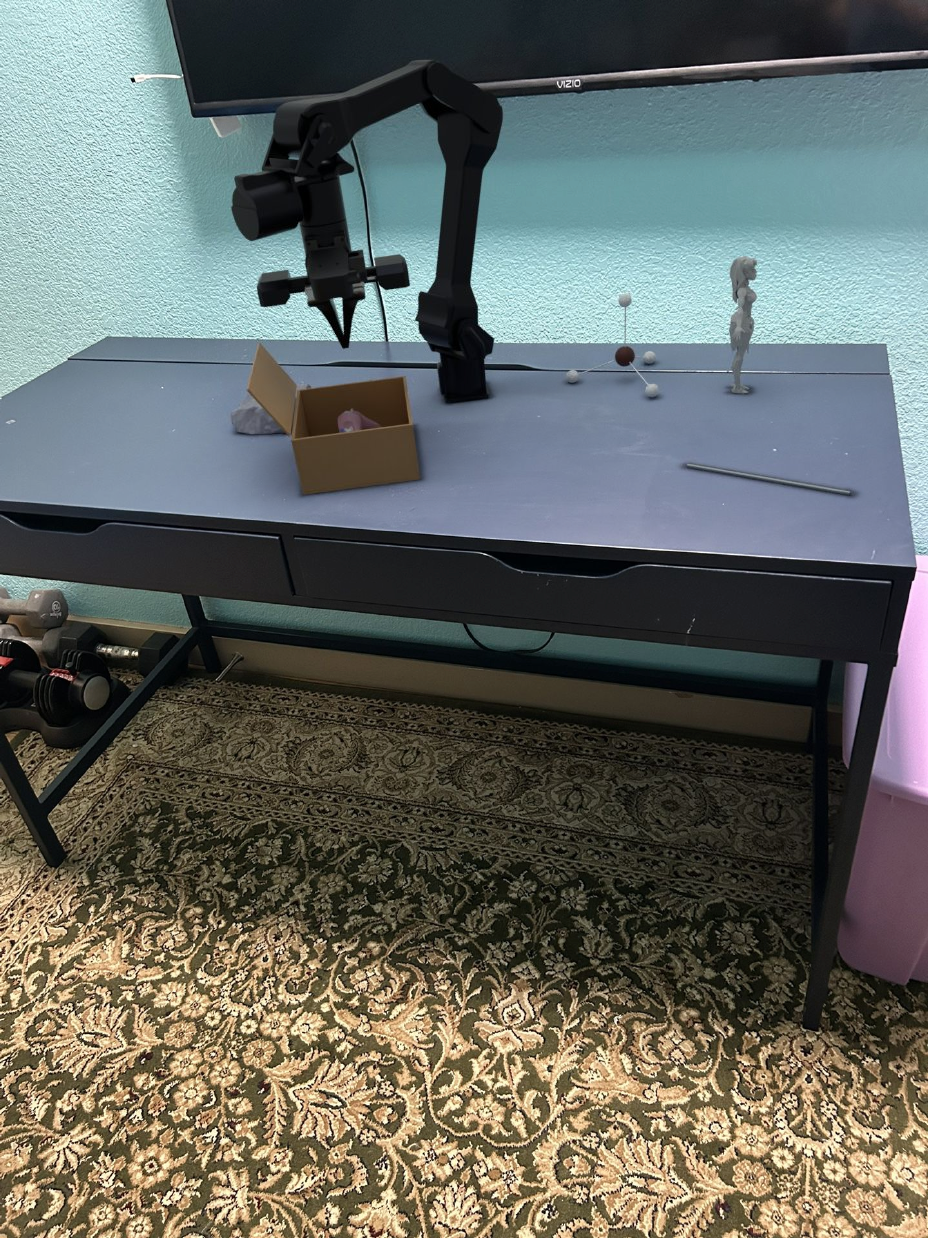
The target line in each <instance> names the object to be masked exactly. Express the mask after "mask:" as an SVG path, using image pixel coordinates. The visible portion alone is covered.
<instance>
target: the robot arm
mask: <svg viewBox="0 0 928 1238" xmlns="http://www.w3.org/2000/svg"><path fill="white" fill-rule="evenodd" d="M417 105H419V106H420V108H421V110H422V111H423V112H424V114H425V115H426V116H427V117H428V118H429V119H431V120H432V121H434V122H435V123H436V125H437V126H436V129H437V143H438V146H439V149H440V152H441V155H442V158H443V160H444V164H445V175H444V185H443V193H442V194H443V195H442V206H441V215H440V227H439V228H440V229H439V238H438V246H437V247H438V248H437V256H436V267H435V268H436V269H435V277H434V281H433V282H432V284H431V285H430V287H429V289H428V290H427V292H426V291H422V290H421V291H419V292H418V296H417V313H416V316H415V318H414V321H415V322H417V323H418V326H417V327H418V328H417V329H418V333H419V335H421V338H422V339H423V340H424V341H425V342H426V343H427V345H428V347H429V349H430V351H431V352H433V353H438V354H439V361H438V362H437V363H436V369H437V378H438V379H437V380H438V386H439V392H440V395H441V396H443V398H444V401H445V403H454V402H463V401H469V400H470V401H471V400H478V399H485V398H489V397H490V393H489V390H488V386H487V375H486V365H485V364H486V363H485V360H486V357H487V356H488V355H492V353H493V351H494V344H495V338H494V337H493V336H492V335H490V333H488V332H487V331H486V330H485V328H483V327H482V326H480V325H479V305H478V302H477V300H476V297H475V294H474V291H473V288H472V283H471V282H472V274H473V273H472V272H473V264H474V253H475V246H476V245H475V244H476V236H477V228H478V218H479V210H480V209H479V208H480V201H481V191H482V183H483V174H484V170H485V168H486V166H487V165H488V163H489V161H490V160H491V158H492V156H493V155H494V153H495V151H496V150H497V147H498V143H499V139H500V135H501V130H502V127H503V121H504V111H503V106H502V105H501V104H500V102H499V100H498V98H497V97H496V95H495V94H494V93H492V92H491V91H489V90H483V89H482V88H480V87H479V86H478V85H476V84H474V83H472V82H471V81H469V80H467V79H465V78H464V77H462V76H460V75H458V74H457V73H455V72H453V71H452V70H450V69H449V67H447V66H446V65H445V64H444V63H441V62H440V61H439V60H436V59H417V60H412V61H409V63H408V64H406V65H405V66H403V67H401V68H398V69H395V70H393V71H392V72H389V73H387V74H384V75H382V76H379V77H377V78H374V79H373V80H370V81H367V82H365V83H363V84H360V85H358V86H356V87H354V88H351V89H349V90H346V91H344V92H341V93H339V94H336V95H331V96H330V95H329V96H323V97H322V96H321V97H314V98H306V99H299V100H293V101H287V102H284V103H283V104H281V105H279V106H278V107H277V109H276V110H275V113H274V114H275V115H274V118H273V124H272V135H271V138H270V141H269V144H268V147H267V150H266V153H265V157H264V159H263V162H262V166H261V171H258V172H255V173H242V174H237V175H234V177H233V180H234V184H235V185H234V186H235V189H234V190H233V192H232V194H231V195H232V196H231V197H232V198H231V204H232V205H231V206H230V208H231V209H230V210H231V214H232V217H233V220H234V222H235V225H236V227H237V229H238V231H239V232H240V234H241V235H242V236H243V237H244V238H245V239H246V240H247V241H249V242H255V241H258V240H262V239H265V238H269V237H272V236H275V235H280V234H282V233H286V232H290V231H293V230H295V229H297V228H298V226H299V229H300V234H301V235H300V236H301V240H302V245H303V250H304V255H305V258H304V266H305V270H306V275H300V276H293V277H291V274H290V270H289V269H282V270H275V271H269V272H262V273H261V274H260V276H259V277H258V279H257V284H256V292H257V297H258V302H259V306H260V307H261V308H271V307H277V306H285V305H286V304H287V303H288V301H289V300H290V298H291V295H293V294H301V293H304V295H305V296H306V298H307V299H306V304H307V307H308V308H316V309H317V310H318V311H319V312H320V313H321V314H322V315H323V317H324V318H325V320H326V321H327V322H328V324H329V327H330V328H331V330H332V331H333V334H334V336H335V337H336V339H337V341H338V343H339V345H340V347H341V349H343V350H344V349H349V348H350V342H351V335H352V326H353V319H354V315H355V311H356V308H357V306H358V305H357V304H358V302H359V301H364V300H365V299H366V298H367V297H366V289H365V288H366V284H373V283H377V285H378V286H379V287H381V288H382V289H383V290H384V291H391V290H397V289H398V290H399V289H406V288H408V287H411V281H410V274H409V268H408V263H407V260H406V258H405V257H404V256H403V255H402V254H400V253H399V254H391V255H390V254H389V255H383V256H377V257H374V258H373V260H374V265H371V266H366V260H365V255H364V249H356V250H353V249H352V245H351V238H350V232H349V225H348V219H347V215H346V208H345V202H344V196H343V189H342V184H341V179H340V176H341V177H342V176H344V175H349V174H352V173H353V174H354V172H355V167H354V165H352V164H351V163H350V162H349V161H346V160H345V159H344V158H343V157H342V156H341V154H340V153H339V152H340V151H342V150H343V149H344V148H346V147H347V146H348V145H350V143H351V142H352V140H353V139H354V137H355V136H356V135H357V134H358V133H360V132H361V131H362V130H364V129H366V128H368V127H370V126H372V125H374V124H377V123H379V122H381V121H384V120H385V119H386V120H387V119H388V118H390V117H392V116H395V115H397V114H399V113H401V112H403V111H406V110H408V109H410V108H413V107H414V106H417ZM339 298H340V299H341V301H342V303H341V304H342V305H341V307H342V324H341V320H340V317H339V313H338V310H337V307H336V304H335V299H339ZM342 326H343V327H342Z"/></svg>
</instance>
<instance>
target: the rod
mask: <svg viewBox="0 0 928 1238" xmlns="http://www.w3.org/2000/svg"><path fill="white" fill-rule="evenodd" d="M686 469H690V470H696V471H701V472H708V473H713V474H719V475H725V476H731V477H736V478H743V479H749V480H755V481H759V482H765V483H769V484H771V483H772V484H776V485H777V484H778V485H783V486H787V487H788V486H789V487H794V488H800V489H806V490H812V491H818V492H823V493H829V494H835V495H840V496H847V497H850V496H852V491H851V490H849V489H843V488H838V487H831V486H825V485H820V484H813V483H808V482H802V481H796V480H790V479H785V478H779V477H772V476H767V475H762V474H761V475H760V474H755V473H750V472H743V471H737V470H732V469H726V468H720V467H714V466H709V465H703V464H697V463H692V462H687V464H686Z"/></svg>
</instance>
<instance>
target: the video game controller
mask: <svg viewBox="0 0 928 1238" xmlns="http://www.w3.org/2000/svg"><path fill="white" fill-rule="evenodd" d="M381 427H382V426H381V425H379V424H378V423H376V422H374V421H372V420H370V419H368V418H366V417H365V416H363V415H362V414H361V413H359V412H358V411H354V410H353V409H351V411H345V412H344V413H342V414H341V415H340V416H339V417H338V428H339V432H340V433H343V432H351V431H359V430H366V429H374V428H381Z"/></svg>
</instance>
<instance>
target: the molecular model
mask: <svg viewBox="0 0 928 1238" xmlns="http://www.w3.org/2000/svg"><path fill="white" fill-rule="evenodd" d="M632 301H633V300H632V296H631V295H630V294H629V293H622V294H621V295H620V296H619V297H618V305H619V306H620V307H622V308H624V345H623V346H621V347H618V349H617V350H616V352H615V354H614V359H613V360H610V361H607V362H605V363H603V364H600V365H597V366H595V367H593V368H590V369H587V370H585V371H582V372H578V371H577V370H575V369H571V370H569V371H568V372H566V377H565V378H566V380H567V382H569V383H577V381H578V380H579V376H580V375H583V374H585V373H588V372H590V371H594V370H596V369H598V368H600V367H603V366H606V365H609V364H611V363H613V362H616V364H617V365H618V366H620V367H629V366H631V367H632V368H633V369H634V371H635V372H636V373H637V374H638V376H639V377H640V378H641V379H642V381H643V382H644V383H645V385H647V386H646V387H645V394H646V395H647V396H648V397H650V398H654V397H656V396H657V395H658V394H659V391H660V389H659V386H658V385H657V384H656V383H648V382H647V380H645V378H644V377H643V376H642V374H641V373H640V372H639V371H638V370H637V368H636V367H635V366H634V365H633V363H634V361H635V359H643V361H644V362H645V364H649V365H650V364H653V363H654V362H655V361H656V357H657V356H656V353H654V352H653V351H646V352H644V354H643V356H636V353H635V351H634V349H633V348H631V347H630V346H627V344H626V341H627V339H626V338H627V308H628V307H629V306H631V304H632Z"/></svg>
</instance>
